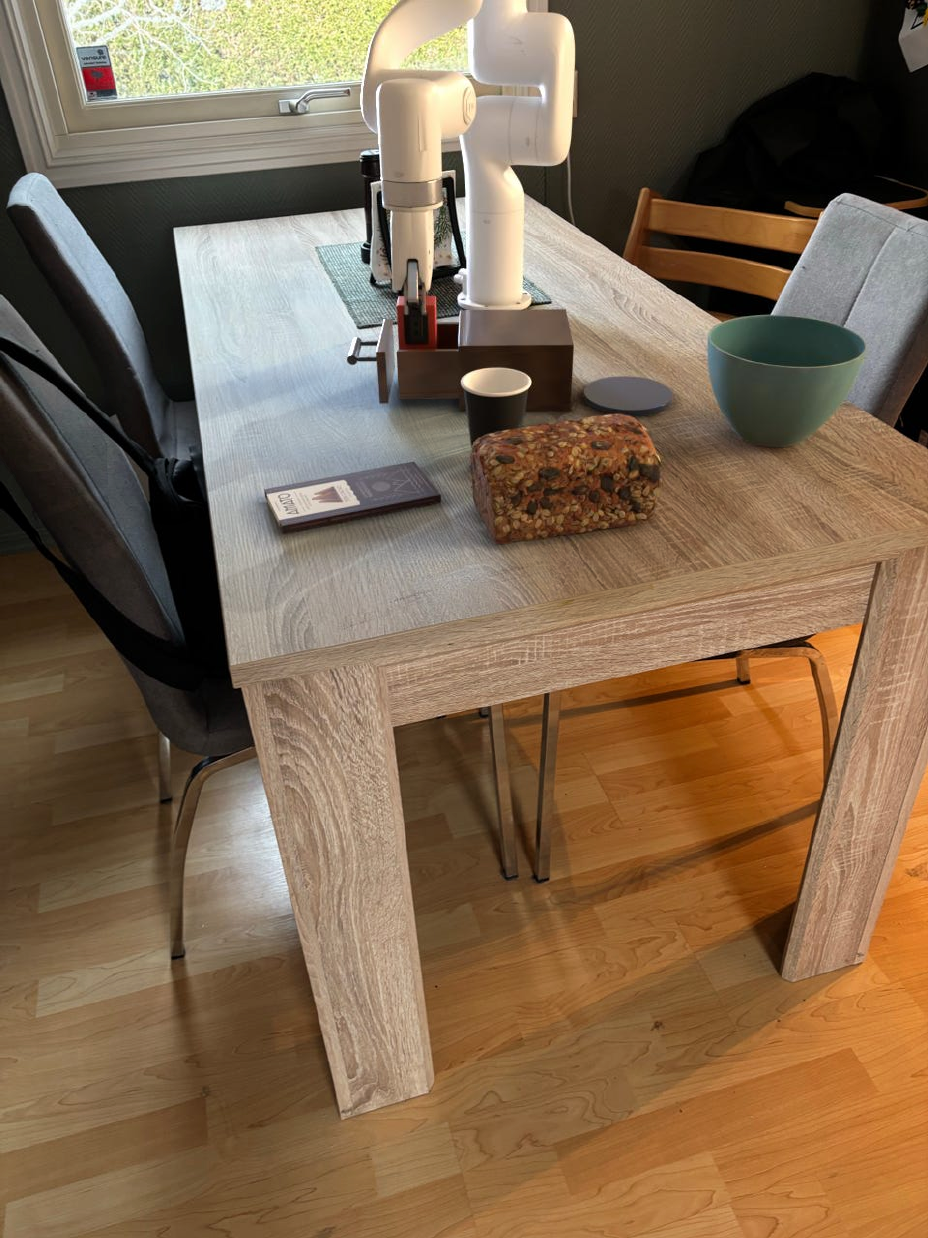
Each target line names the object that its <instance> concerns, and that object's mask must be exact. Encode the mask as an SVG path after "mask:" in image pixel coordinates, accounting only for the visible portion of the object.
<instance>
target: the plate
mask: <svg viewBox="0 0 928 1238" xmlns="http://www.w3.org/2000/svg"><path fill="white" fill-rule="evenodd" d="M673 398H674V393H673V392H672V390H671V388H669V387H668V386H667V385H665V384H664V383H661V382H659V381H657V380H653V379H650V378H646V377H639V376H631V375H630V376H628V375H627V376H626V375H625V376H623V375H621V376H620V375H619V376H618V375H617V376H609V377H603V378H600V379H597V380H593V381H591V382H590V383H588V384H587V385H586V386H585V387H584V389H583V400H584V402H585V403H586V404H587V405H588V406H589V407H590V408H593V409H594V410H597V411H599V412H601V413H602V412H603V413H605V414H623V415H630V416H632V417H641V416H648V415H649V416H650V415H653V414H654V415H655V414H658V413H661V412H663V411H665V410H667V409H668V408H670V406H671V405H672V403H673V400H674V399H673Z"/></svg>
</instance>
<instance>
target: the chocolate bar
mask: <svg viewBox="0 0 928 1238" xmlns="http://www.w3.org/2000/svg"><path fill="white" fill-rule="evenodd" d="M263 490H264V491H263V492H264V497H265V499H266V502H267V504H268V506H269V508H270V510H271V512H272V514H273V516H274V518H275V520H276V522H277V524H278V527H279V528H280V531H281V533H282V534H288V533H293V532H298V531H303V530H308V529H313V528H318V527H323V526H328V525H334V524H337V523H343V522H349V521H353V520H359V519H363V518H369V517H372V516H373V517H374V516H378V515H383V514H388V513H392V512H398V511H402V510H403V511H404V510H408V509H413V508H418V507H425V506H428V505H434V504H437V503H438V504H439V503H442V494H441V493H440V491H439V490H438V489H437V488H436V486H435V485H434V484H433V483H432V482H431V480H430V479H429V478H428V476H427V475H426V474H425V473H424V472H423V470H422V469H421V468H420V467H419V465H418V464H417V463H416V462H415V461H409V462H404V463H397V464H393V465H388V466H382V467H377V468H371V469H366V470H360V471H354V472H349V473H345V474H338V475H335V476H328V477H323V478H318V479H313V480H306V481H302V482H296V483H290V484H285V485H280V486H274V487H269V488H263Z"/></svg>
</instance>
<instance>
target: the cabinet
mask: <svg viewBox="0 0 928 1238" xmlns="http://www.w3.org/2000/svg"><path fill="white" fill-rule="evenodd" d="M459 322H460V323H459V344H458V352H459V398H458V403H459V405H458V407H459V408H458V409H459V413H460V412H461V413H462V412H463V413H465V412H466V413H467V410H466V402H465V394H464V388H463V387H462V385H461V380H462V378H463V377H464V376H465V375H466V374H468V373H470V372H472V371H475V370H479V369H485V368H507V369H513V370H517V371H520V372H523V373H525V374H526V375H527V376H529V378H530V379H531V385H530V387H529V388H528V394H527V401H526V409H525V412H570V411H571V409H572V393H573V392H572V391H573V375H574V374H573V371H574V356H575V355H574V354H575V352H574V351H575V343H574V339H573V335H572V329H571V325H570V321H569V316H568V313H567V309H566V308H556V309H555V308H553V309H551V308H550V309H548V308H547V309H544V308H543V309H541V308H540V309H522V310H466V309H460V310H459Z"/></svg>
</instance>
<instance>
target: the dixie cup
mask: <svg viewBox="0 0 928 1238" xmlns="http://www.w3.org/2000/svg"><path fill="white" fill-rule="evenodd" d="M461 385H462V387H463V388H464V394H465V402H466V410H467V412H466V418H467V425H468V433H469V441H470V449H471V448H472V445H473V443H474V442H475V441H476V440H477V439H478V438H481V437H483V436H484V435H487V434H491V433H495V432H499V431H505V430H513V429H517V428H523V427H524V422H525V416H526V415H525V414H526V411H525V409H526V401H527V394H528V388H529V387H530V385H531V379H530V378H529V376H527V375H526V374H525V373H523V372H520V371H517V370H513V369H507V368H485V369H479V370H475V371H472V372H470V373H468V374H466V375H465V376H464V377H463V378H462V380H461Z"/></svg>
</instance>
